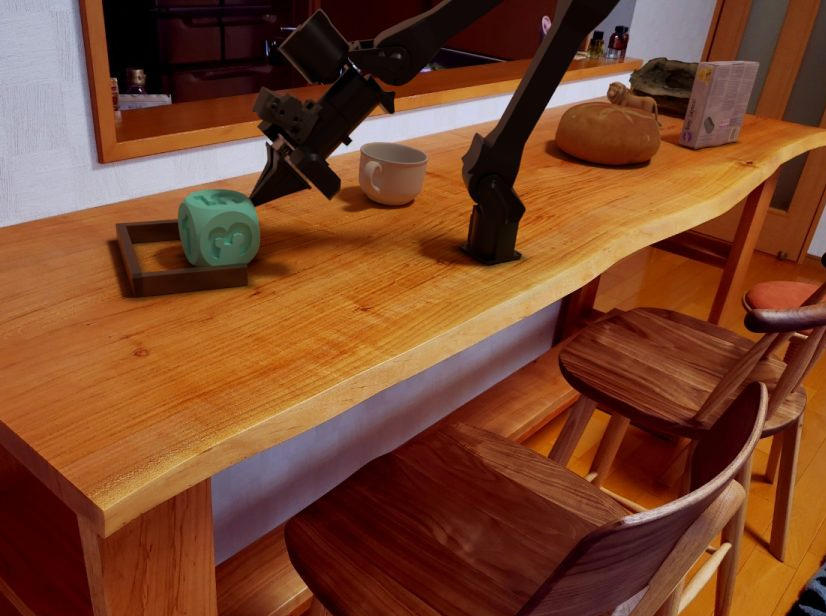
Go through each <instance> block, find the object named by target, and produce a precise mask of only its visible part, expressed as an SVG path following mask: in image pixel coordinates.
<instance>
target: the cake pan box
mask: <svg viewBox="0 0 826 616" xmlns="http://www.w3.org/2000/svg"><path fill="white" fill-rule="evenodd" d="M698 63H699V64H698V68H697V72H696V76H695V80H694V84H693V88H692V92H691V97H690V101H689V105H688V109H687V112H686V114H685V117H684V121H683V125H682V128H681V133H680V137H679V141H678V144H679V145H681V146H684V147H687V148H689V149H693V150H697V149H702V148H708V147H718V146H722V145H724V144H731V143H737V142H738V140H739V136H740V133H741V129H742V126H743V123H744V119H745V116H746V112H747V109H748V106H749V101H750V98H751V95H752V91H753V88H754V85H755V81H756V78H757V75H758V72H759V68H760V65H761V64H760V61H750V60H730V61H729V60H728V61H727V60H724V61H723V60H722V61H721V60H719V61H699V62H698Z"/></svg>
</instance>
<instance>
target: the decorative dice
mask: <svg viewBox="0 0 826 616" xmlns="http://www.w3.org/2000/svg"><path fill="white" fill-rule="evenodd" d="M178 206H179V207H178V211H177V219H178V226H179V234H180V239H179V240H180V242H181V243H180V244H181V247H182V250H183V252H184V255H185V257H186V259H187V260H188V262H189V263H190V264H191V265H193V266H194V267H195V268H196V267H206V266H217V265H227V264H238V263H246V265H247V266H248V264H249V263H250V262H251V261H252V260H253V259H254V258H255V257H256V255H257V254H258V252H259V249H260V244H261V229H260V222H259V221H260V220H259V216H258V214H257V211H256V207H254V205H253V203H252V201H251V200H250V199H249V196H247V195H246V194H245V193H243V192H240V191H237V190H234V189H233V190H231V189H225V188H209V189H202V190H201V189H200V190H197V191H193V192H191V193H189V194H188V195H186V196H185V198H183V200H182V201H181V202H180V204H179V205H178Z"/></svg>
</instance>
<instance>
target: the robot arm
mask: <svg viewBox="0 0 826 616" xmlns="http://www.w3.org/2000/svg"><path fill="white" fill-rule="evenodd" d="M505 1H506V0H442V1H441V2H439V3H438V4H436V5H435V6H434V7H432V8H430V9H429V10H427V11H426V12H423V13H421V14H418V15H416V16H414V17H413V16H412V17H411V18H408V19H406V20H403V21H401V22H399V23H397V24H395V25H393V26H391V27H389V28H387V29H385V30H383V31H381V32H380V33H379V34H378V35H377V36H376V37H375V38H372V39H362V40H358V39H357V40H354V41H352V40H351V41H347V39H346V38H345V37H344V36H343V35H342V34H341V33H340V32H339V30H338V29H337V28H336V27H335V25H334V24H333V23H332V22H331V20H330V19H329V16H328V15H327V14H326V12H324V11H323V9H322V8H318V9H317V10H316V11H315V12H314V13H312V15H311V16H310V17H308V18H307V20H305V21H304V22H303V23H302V24H299V25H298V26H297V27H295V29H294V30H293V31H292V32H291V33H290V34H289V35H288V37H286V39H285V40H284V41H283V42H282V43H281V44H280V46H279V47H278V50H279V52H280V53H281V54H282V55H283V56H284V57H285V58H286V59H287V60H288V62H289V63H291V65H292V66H293V67H294V68H295V69H296V70H297V71H298V73H300V74H301V76H302V77H303V78H304V79H305V80H306V81H307V82H308V83H309V85H314V84H316V83H317V84H318V85H322V86H323V87H324V86H326V85H327V84H328V83H329V82H330V81H332V80H333V79H334V78H335V77H336V76H337V75H338V74H339V73H340V71H341V70H342V69H343V68H345V71H344V72H342V74H341V75H340V76H339V77H338V78H337V79H336V80H335V81H334V82H333V83H332V84H331V85H330V86H329V87H328V89H326V90H325V92H324V93H323V94H322V95H321V96H320V97H319V98H318V99H317V100H316V101H315V100H313V99H312V98H310V99H309V98H307V99H306V100H305V101H304V102H303V101H302V100H301V99H299V98H298V97H295V96H293V95H292V94H290V93H288V92H287V93H285V94H283V95H281V94H279V93H277V92H275V91H273V90H271V89H269V88H267V87H265V86H261V88H260V90H259V93H258V94H257V97H256V99H255V102H254V104H253V106H252V108H251V112H252V113H256V116H257V118H259V119H260V120H261V121H260V123H259V124H258V125H257V126H256V128H258V129H259V130H260V132H261V133H262V134H263V135H265V137H266V138H268V140H269V141H270V142H271V144H270V143H269V142H268V141H267V140H266V141H265V143H264V145H265V148H266V163H265V165H264V167H263V168H262V169H263V170H262V171H261V173H260V175H259V177H258V179H257V181H256V183H255V185H254V186H253V189H252V190H251V193H250V194H249V196H248V198H249V199H250V200H251V201H252V203H253V205H254V207H255V208H257V207H261V206H262V205H265V204H267V203H270V202H274V201H275V200H278V199H281V198H283V197H287V196H289V195H292V194H296V193H299V192H302V191H305V190H308V191H310V190H312V189H313V187H312V186H314V187H315V188H316V189H317V190H318V191H319V192H320V193H321V194H322V195H323V196H324V197H325V198H326V199H327V200H328V201H329V202H330V201H332V199H334V198H335V196H337V194H339V192H340V191H341V190H342V189H341V188H342V179H341V178H340V176H339V175H337V173H335V171H334V170H333V169H332V168H331V167H330V164H329V162H328V161H327V159H328V158H329V157H331V155H332V154H333V153H334V152H335V151H336V150H337V149H338V148H339V147H340V146H341V145H342V144H343V145H345V147H349V145H351V143H352V142H353V139H352V138H351V137H350V135H352V133H353V132H354V131H355V130H356V129H357V128H358V127H360V125H361V124H362V123H363V122H364V121H365V120H366V119H367V118H368V117H369V116H370V115H371V114H372V113H373V112H374V111H375V110H376V108H377V107H379V108H380V109H381V111H382V112H383V113H384V114H388V115H394V114H395V113H396V109H395V98H396V95H397V93H396V91H395V90H385V88H383V87H382V85H381V84H380V83H379V82H378V81H377V80H376V79H375V78H374V76H373V75H372V74H375V76H376V77H377V78H378V79H379V81H380V82H382V83H383V84H385V85H387V86H392V87H397V88H398V87H402V86H404V85H407V84H409V83H410V82H411V81H413V79H414V78H416V77H417V76H418V75H419V74H420V73H421V72H422V71H423V69H425V68H426V67H427V66H428V65H429V64H430V63H431V61H432V60H433V59H434V58H435V56H436V55H437V54H438V53H439V52H440V50H441V49H442V48H443V47H444V46H445V45H446V44H447V43H448V42H450V40H451V39H453V38H454V37H456V36H457V35H459V34H461V32H463V31H464V30H466V29H467V28H468V27H470V26H471V25H473V24H475V22H477V21H479V20H480V19H481V18H482V17H484V16H486V15H487V14H488V13H490V12H491V11H492V10H494V9H495V8H497V7H498V6H499V5H501V4H503V3H504V2H505ZM620 2H621V0H557V3H556V8H555V12H554V17H553V21H552V22H551V25H550V27H549V28H548V30H547V32H546V34H545V35H544V37H543V39H542V41H541V43H540V45H539V46H538V49H537V50H536V52H535V54H534V56H533V58H532V59H531V61H530V63H529V65H528V67H527V69H526V70H525V73H524V74H523V76H522V77H521V80H520V82H519V84H518V85H517V87H516V89H515V91H514V93H513V95H512V96H511V98H510V100H509V102H508V104H507V105H506V107H505V109H504V111H503V113H502V115H501V117H500V119H499V120H498V122H497V124H496V125H495V127H494V128H493V129H492V130H491V131H490V132H489V133H487V135H486V136H483V135H481V134H480V133H479V132H475V133H474V135H473V138H472V140H471V143H470V146H469V148H468V150H467V151H466V152H465V154H464V155H463V156H461V157H460V158H461V162H462V168H461V178H462V181H463V184H464V186H465V188H466V190H467V193H468V195H469V197H470V198H471V200H472V201H473V203H475V204H473V205H472V210H471V214H470V217H469V224H468V232H467V237H466V238H467V239H466V243H461V244H459V245H458V249H459V250H461V251H462V252H464V253H465V254H467V255H469V256H471V257H472V258H474V259H475V260H478V261H479V262H481V263H482V264H485V265H494V264H499V263H502V262H507V261H512V260H518V259H521V258H522V256H523V253H522V252H520V251H518V250H516V244H517V237H518V232H519V228H520V227H519V226H520V222H521V220H522V218H523V216H524V214H525V213H526V211H527V207H526V206H525V204H524V203H523V201H522V199H521V198H520V196H519V194H518V193H517V191H516V189H515V188H514V185H515V182H516V180H517V177H518V175H519V172H520V168H521V164H522V158H523V154H524V150H525V147H526V144H527V142H528V140H529V138H530V137H531V135H532V133H533V131H534V129H535V128H536V125H537V124H538V122H539V121H540V119H541V117H542V115H543V113H544V112H545V110H546V108H547V106H548V105H549V103H550V102H551V99H552V98H553V96H554V94H555V92H556V91H557V89H558V87H559V86H560V84H561V83H562V80H563V78H564V76H565V75H566V74H567V71H568V70H569V68H570V67H571V64H572V62H574V59H575V57H576V55H577V54H578V52H579V50H580V49H581V48H582V47H581V46H582V45H583V44H584V41H585V40H586V39H587V37H588V36H589V35H590V34H591V33H593V32H594V31H595V30H596V28H597V27H598V26H600V25H601V24H602V23H603V22H604V21H605V20H606V19H607V18H609V16H610V14H611V13H612V12H613V11H614V9H615V8H616V7H617V6H618V5H619V3H620ZM358 70H360V71H364V72H368V74H366V75H363V74H361V73H360V71H358ZM310 183H311V184H312V186H311V184H310Z"/></svg>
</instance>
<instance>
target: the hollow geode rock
mask: <svg viewBox="0 0 826 616" xmlns="http://www.w3.org/2000/svg"><path fill="white" fill-rule="evenodd" d="M698 64H699V62H697V61H695V62H694V61H693V62H686V61H682V60H678V59H668V58H667V57H666V56H663V57H655V58H652V59H649V60H648V61H647V62H646V63H645V64H644V65H643V66H642V67H640V68H639V69H637V70H634V71H633V72H632V73H630V74H629V79H628V83H630V86H631V87H632V89H631V91H632V92H633V94H634V95H635V96H638V97H651V98H653V99H654V100H655V102H656V104H657V105H660V106H666V107H670V108H674V109H675V110H676V112H677V114H683V115H686V112H687V109H688V105H689V101H690V97H691V92H692V88H693V84H694V80H695V76H696V72H697V68H698Z"/></svg>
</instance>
